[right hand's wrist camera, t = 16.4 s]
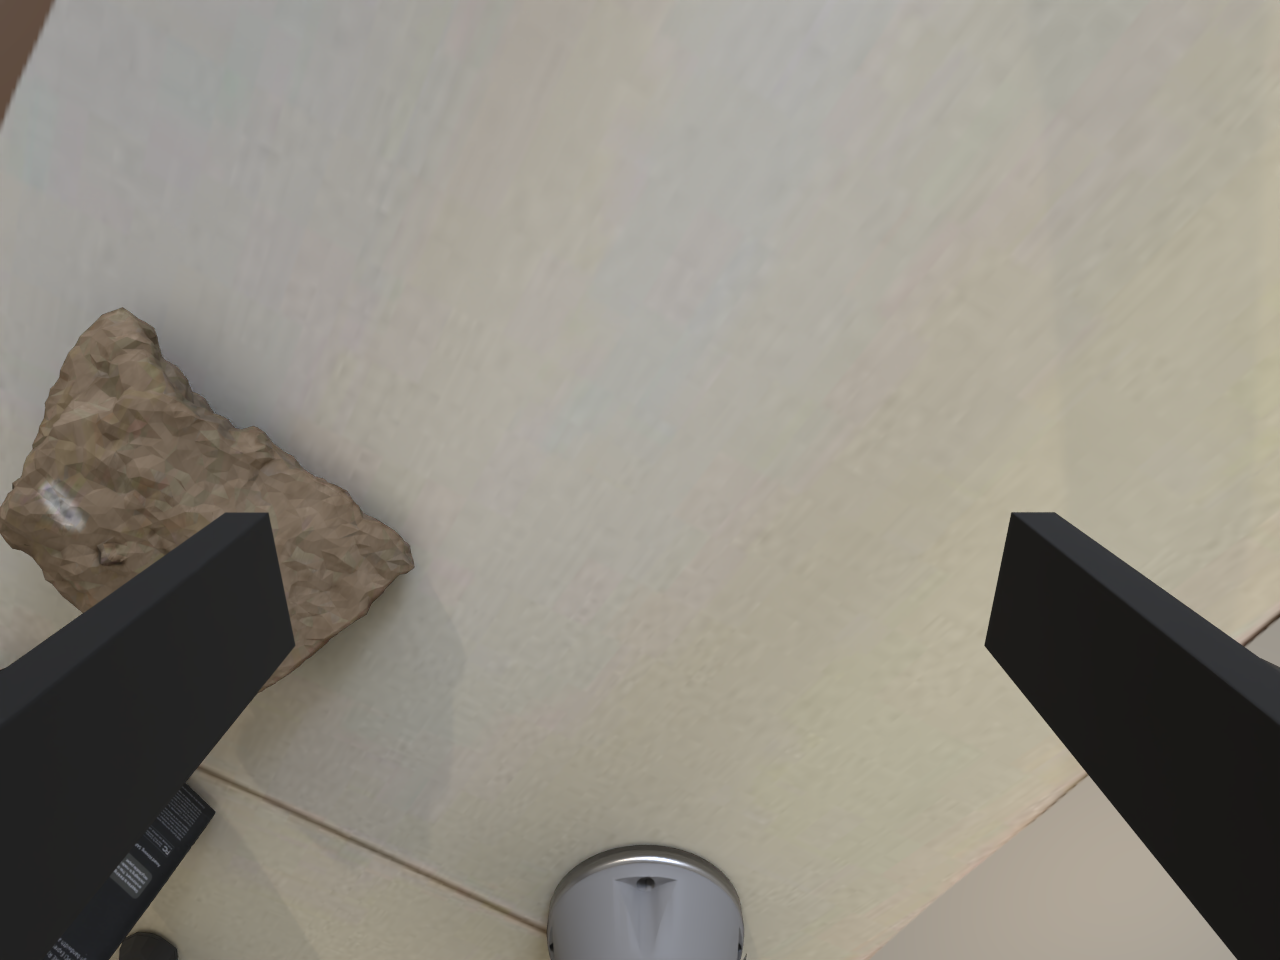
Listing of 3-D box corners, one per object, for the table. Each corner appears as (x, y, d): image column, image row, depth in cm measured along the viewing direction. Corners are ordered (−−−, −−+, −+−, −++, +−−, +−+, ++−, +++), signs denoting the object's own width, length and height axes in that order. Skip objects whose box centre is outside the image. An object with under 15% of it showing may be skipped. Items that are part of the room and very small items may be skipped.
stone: (-48, 486, 39) (-126, 526, 34) (132, 296, 39) (84, 304, 33) (279, 679, 48) (259, 736, 42) (429, 525, 47) (429, 562, 42)
